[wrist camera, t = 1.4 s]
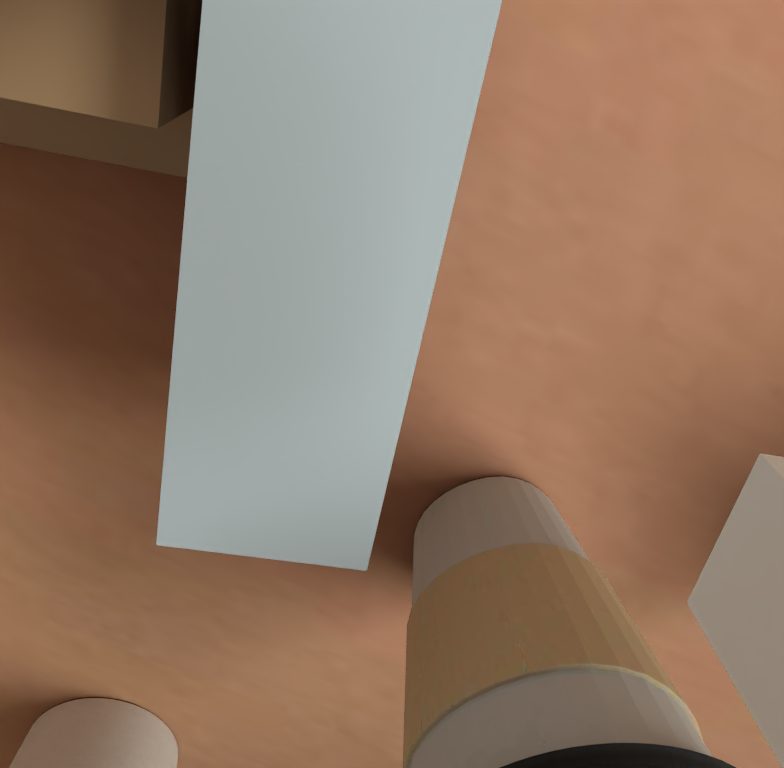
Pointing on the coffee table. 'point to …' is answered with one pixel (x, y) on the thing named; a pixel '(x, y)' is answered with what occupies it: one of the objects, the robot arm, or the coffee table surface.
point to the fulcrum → (101, 79)
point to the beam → (310, 263)
